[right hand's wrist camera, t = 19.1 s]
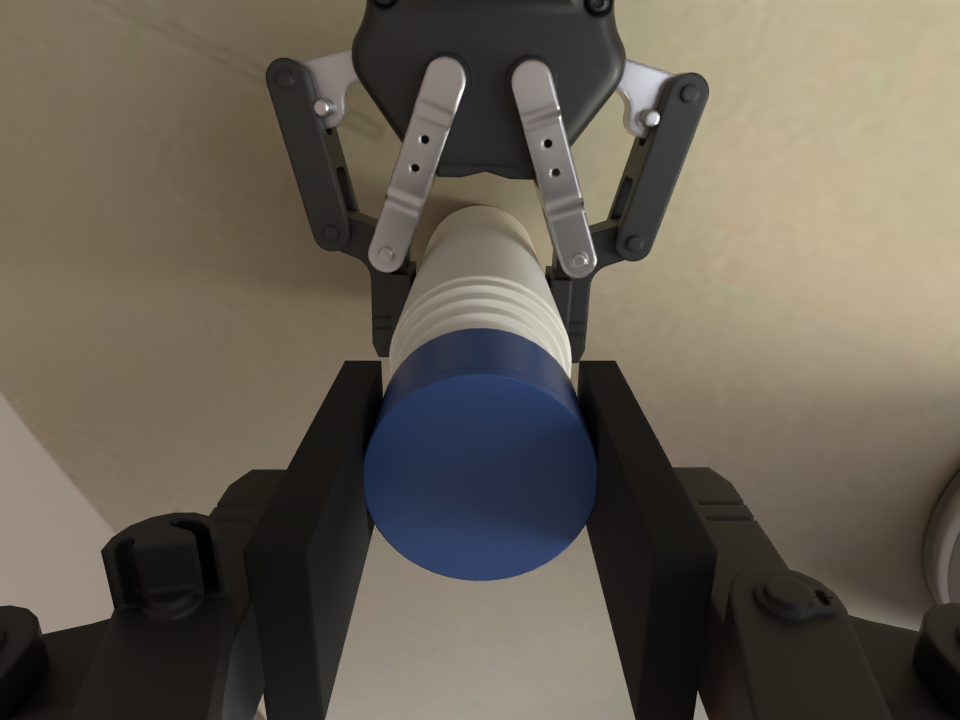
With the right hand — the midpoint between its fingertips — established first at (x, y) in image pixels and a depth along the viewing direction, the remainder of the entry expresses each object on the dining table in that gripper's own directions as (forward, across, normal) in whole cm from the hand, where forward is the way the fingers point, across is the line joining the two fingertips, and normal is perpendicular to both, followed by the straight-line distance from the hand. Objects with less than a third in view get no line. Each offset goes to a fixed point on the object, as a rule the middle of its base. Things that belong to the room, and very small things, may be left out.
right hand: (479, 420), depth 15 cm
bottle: (+17, 0, 0) cm, 17 cm away
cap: (-2, 0, 0) cm, 2 cm away
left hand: (+10, 0, -3) cm, 10 cm away
